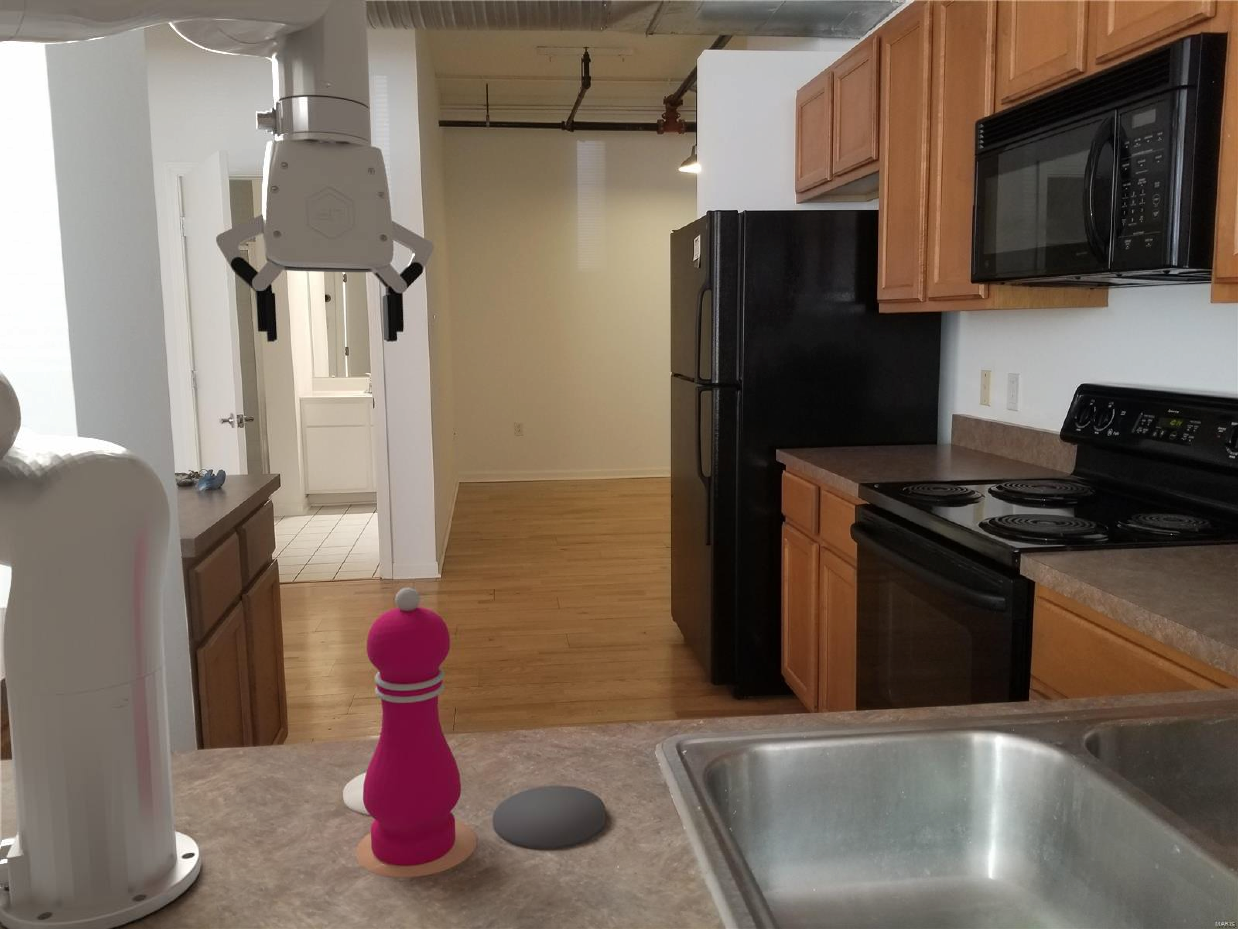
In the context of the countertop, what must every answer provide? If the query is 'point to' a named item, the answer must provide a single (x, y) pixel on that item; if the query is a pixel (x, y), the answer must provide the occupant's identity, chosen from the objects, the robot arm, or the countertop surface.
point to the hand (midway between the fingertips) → (332, 341)
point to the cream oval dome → (355, 794)
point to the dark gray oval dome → (550, 817)
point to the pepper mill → (410, 738)
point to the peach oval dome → (454, 856)
